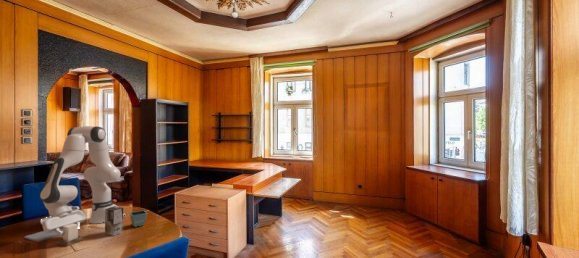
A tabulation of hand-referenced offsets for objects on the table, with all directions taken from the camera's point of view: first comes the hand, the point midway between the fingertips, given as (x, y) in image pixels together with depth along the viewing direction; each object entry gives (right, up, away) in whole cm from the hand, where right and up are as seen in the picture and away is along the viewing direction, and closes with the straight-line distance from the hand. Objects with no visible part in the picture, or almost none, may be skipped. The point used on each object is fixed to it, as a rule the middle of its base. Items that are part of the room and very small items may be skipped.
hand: (70, 232), depth 152 cm
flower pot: (+24, -7, +28) cm, 37 cm away
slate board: (-22, -5, +10) cm, 25 cm away
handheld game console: (-43, -5, +42) cm, 60 cm away
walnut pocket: (0, -6, 0) cm, 6 cm away
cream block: (0, -6, 0) cm, 6 cm away
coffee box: (+16, -6, +14) cm, 22 cm away
